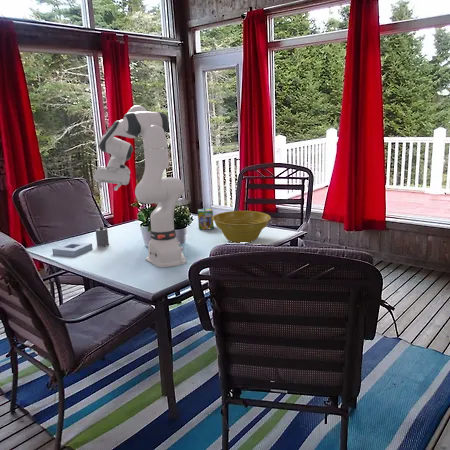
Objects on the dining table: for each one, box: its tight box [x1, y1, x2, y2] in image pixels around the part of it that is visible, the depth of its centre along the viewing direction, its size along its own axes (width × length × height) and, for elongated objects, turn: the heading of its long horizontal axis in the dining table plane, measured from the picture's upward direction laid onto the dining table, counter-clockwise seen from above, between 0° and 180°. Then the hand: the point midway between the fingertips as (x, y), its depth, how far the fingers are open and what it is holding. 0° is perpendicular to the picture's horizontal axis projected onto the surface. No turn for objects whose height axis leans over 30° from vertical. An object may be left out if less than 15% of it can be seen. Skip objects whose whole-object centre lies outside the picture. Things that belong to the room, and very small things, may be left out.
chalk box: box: [197, 204, 215, 230], centre depth 258 cm, size 9×9×15 cm
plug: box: [95, 225, 110, 248], centre depth 227 cm, size 4×4×11 cm
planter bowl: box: [212, 210, 272, 244], centre depth 230 cm, size 32×32×13 cm
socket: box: [52, 241, 94, 258], centre depth 218 cm, size 14×14×3 cm
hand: (107, 189), depth 230 cm, fingers open, 8 cm apart
